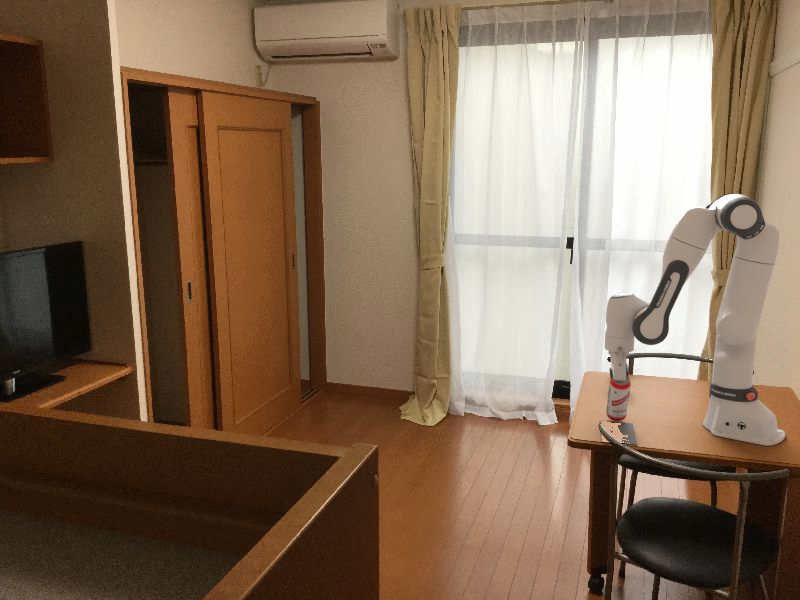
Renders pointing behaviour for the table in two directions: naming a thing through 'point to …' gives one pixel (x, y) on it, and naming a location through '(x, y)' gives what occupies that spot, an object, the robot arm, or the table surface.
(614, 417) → the beer can
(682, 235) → the robot arm
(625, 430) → the mat
